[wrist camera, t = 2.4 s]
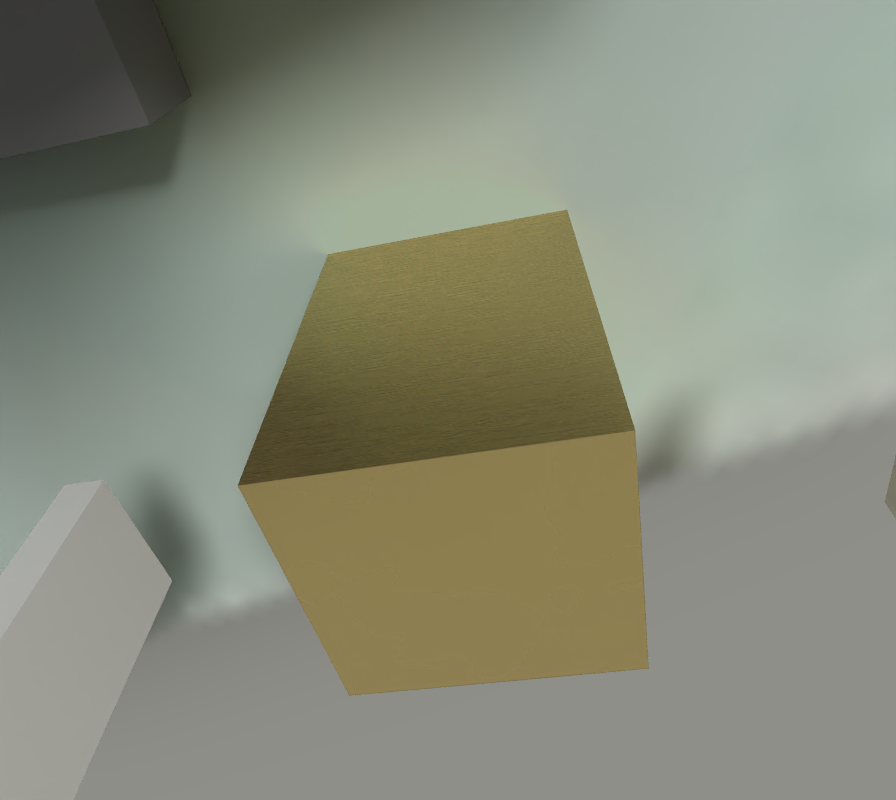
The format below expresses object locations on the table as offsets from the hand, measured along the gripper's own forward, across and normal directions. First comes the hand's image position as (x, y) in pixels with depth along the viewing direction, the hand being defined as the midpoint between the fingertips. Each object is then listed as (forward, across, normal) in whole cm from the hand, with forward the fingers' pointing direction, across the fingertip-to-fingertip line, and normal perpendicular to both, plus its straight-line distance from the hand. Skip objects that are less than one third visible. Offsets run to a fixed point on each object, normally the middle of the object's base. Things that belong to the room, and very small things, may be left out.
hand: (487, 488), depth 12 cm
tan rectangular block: (+5, 0, 0) cm, 5 cm away
